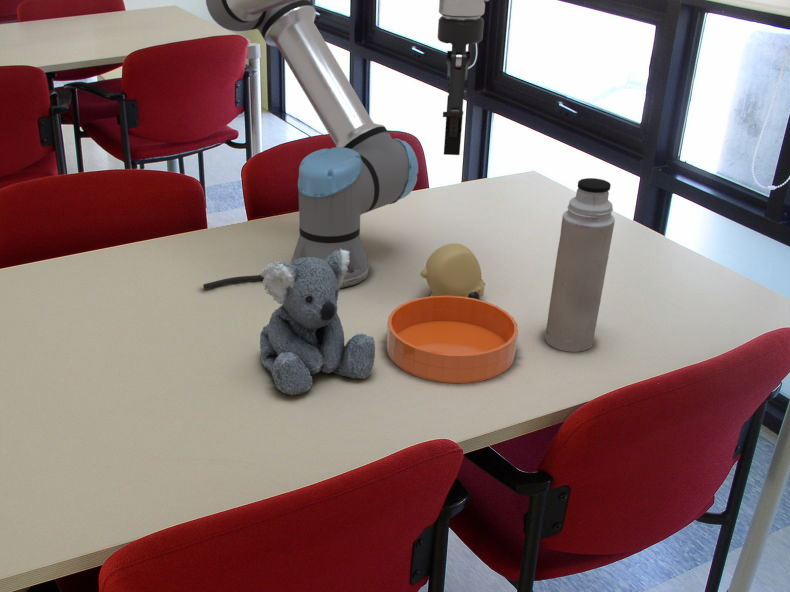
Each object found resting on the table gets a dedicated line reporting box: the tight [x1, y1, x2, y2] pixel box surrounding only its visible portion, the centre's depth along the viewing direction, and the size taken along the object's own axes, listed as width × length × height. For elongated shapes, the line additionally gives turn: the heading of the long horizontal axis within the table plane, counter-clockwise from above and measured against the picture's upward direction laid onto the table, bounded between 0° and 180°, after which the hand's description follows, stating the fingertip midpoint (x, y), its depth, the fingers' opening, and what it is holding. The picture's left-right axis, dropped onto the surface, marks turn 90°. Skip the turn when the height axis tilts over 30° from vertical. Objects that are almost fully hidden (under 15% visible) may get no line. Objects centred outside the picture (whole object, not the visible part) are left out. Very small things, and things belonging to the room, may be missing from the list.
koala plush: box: [259, 248, 376, 396], centre depth 142 cm, size 17×18×20 cm
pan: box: [386, 295, 519, 384], centre depth 150 cm, size 21×21×5 cm
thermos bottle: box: [544, 177, 616, 353], centre depth 147 cm, size 8×8×28 cm
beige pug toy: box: [420, 243, 486, 300], centre depth 166 cm, size 10×12×11 cm
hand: (452, 142), depth 162 cm, fingers open, 13 cm apart
